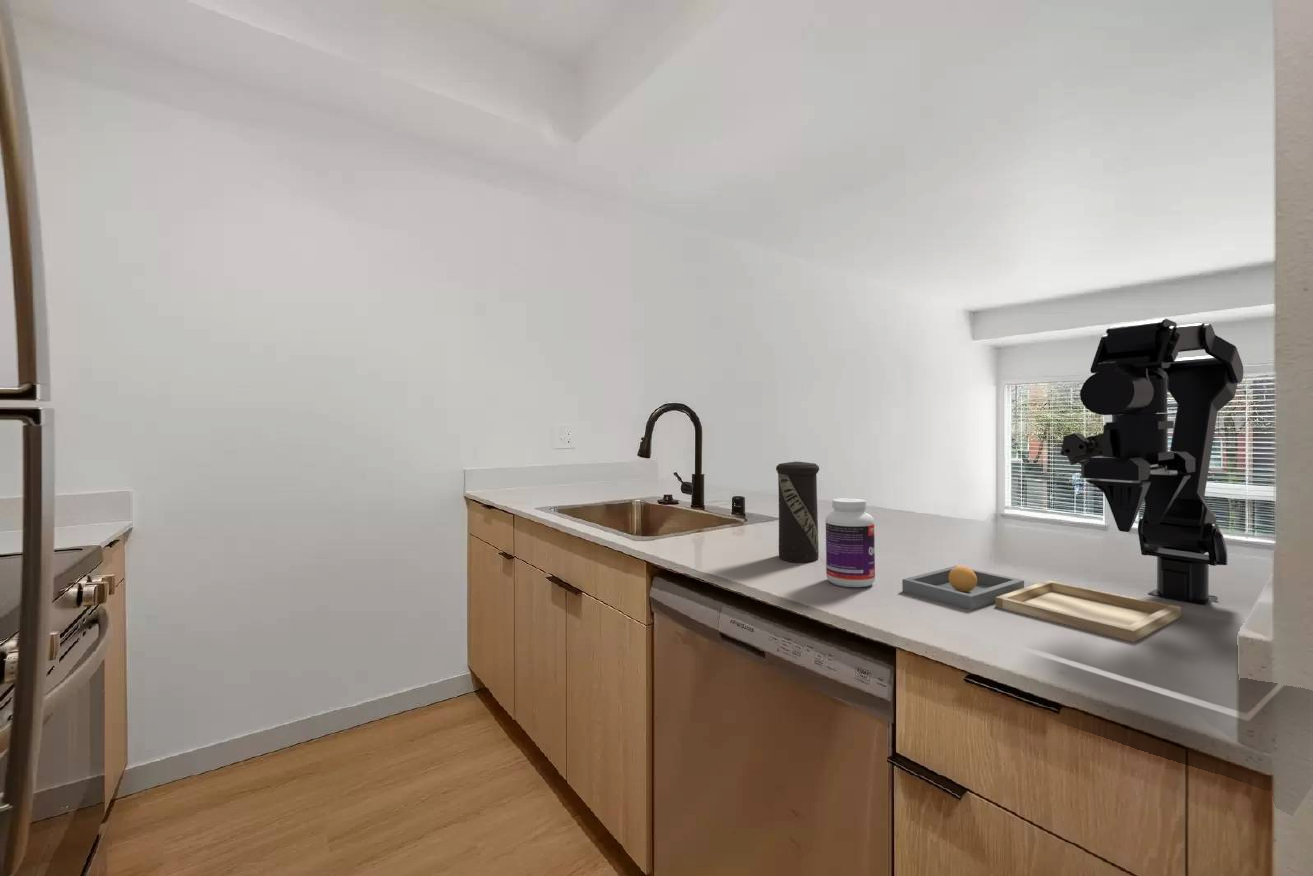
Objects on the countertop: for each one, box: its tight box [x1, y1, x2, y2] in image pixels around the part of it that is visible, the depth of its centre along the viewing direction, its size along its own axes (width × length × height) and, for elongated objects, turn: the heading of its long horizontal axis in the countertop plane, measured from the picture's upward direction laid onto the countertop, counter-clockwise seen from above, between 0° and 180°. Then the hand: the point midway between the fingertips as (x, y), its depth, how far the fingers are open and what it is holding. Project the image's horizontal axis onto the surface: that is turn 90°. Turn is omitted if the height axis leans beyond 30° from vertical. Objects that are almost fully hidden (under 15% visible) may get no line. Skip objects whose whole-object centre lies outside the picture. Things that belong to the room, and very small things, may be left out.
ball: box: [949, 565, 977, 592], centre depth 87 cm, size 4×4×4 cm
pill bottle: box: [825, 497, 876, 588], centre depth 95 cm, size 8×8×14 cm
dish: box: [994, 579, 1182, 643], centre depth 77 cm, size 16×16×2 cm
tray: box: [901, 565, 1025, 611], centre depth 87 cm, size 15×11×2 cm
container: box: [775, 461, 820, 563], centre depth 113 cm, size 9×9×20 cm
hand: (1139, 527), depth 75 cm, fingers open, 9 cm apart
